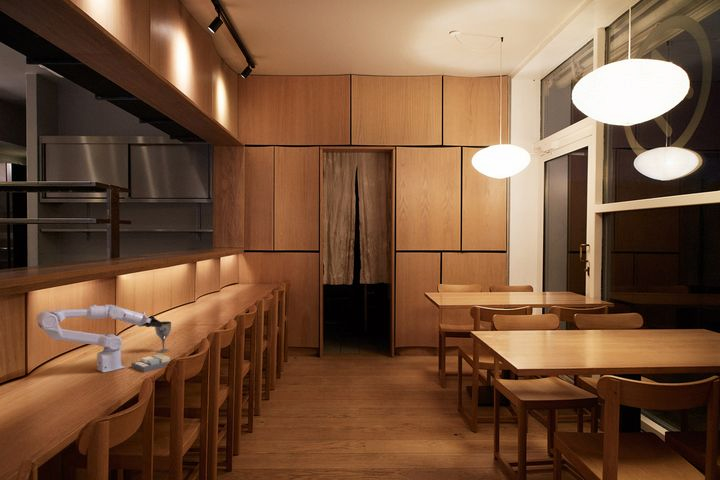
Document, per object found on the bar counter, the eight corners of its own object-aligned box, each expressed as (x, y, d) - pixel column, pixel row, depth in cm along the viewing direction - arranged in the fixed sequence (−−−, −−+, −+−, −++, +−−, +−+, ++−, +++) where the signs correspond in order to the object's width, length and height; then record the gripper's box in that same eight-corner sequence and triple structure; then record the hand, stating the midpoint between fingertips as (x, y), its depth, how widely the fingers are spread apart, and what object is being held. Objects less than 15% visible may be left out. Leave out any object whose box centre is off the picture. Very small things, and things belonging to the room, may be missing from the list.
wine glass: (151, 351, 238) (151, 323, 238) (164, 348, 245) (164, 320, 245) (162, 353, 234) (161, 325, 234) (174, 350, 241) (174, 322, 241)
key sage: (156, 361, 216) (156, 357, 216) (152, 359, 218) (152, 355, 218) (164, 359, 219) (164, 355, 219) (160, 357, 221) (160, 353, 221)
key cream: (145, 363, 212) (145, 359, 212) (141, 362, 214) (141, 358, 214) (153, 361, 215) (153, 357, 215) (149, 360, 217) (149, 356, 217)
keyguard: (144, 372, 204) (144, 367, 204) (131, 367, 212) (131, 362, 212) (174, 364, 216) (174, 359, 216) (161, 359, 223) (161, 355, 223)
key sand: (161, 363, 212) (161, 359, 212) (157, 361, 215) (157, 357, 215) (170, 361, 216) (169, 357, 216) (165, 359, 218) (165, 355, 218)
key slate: (151, 366, 208) (151, 361, 208) (146, 364, 211) (146, 360, 211) (159, 364, 212) (159, 359, 211) (155, 362, 214) (155, 358, 214)
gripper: (140, 308, 212) (167, 317, 221) (128, 309, 222) (155, 316, 230) (135, 323, 209) (162, 331, 218) (123, 323, 219) (150, 330, 228)
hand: (158, 324), depth 224 cm, fingers open, 7 cm apart
